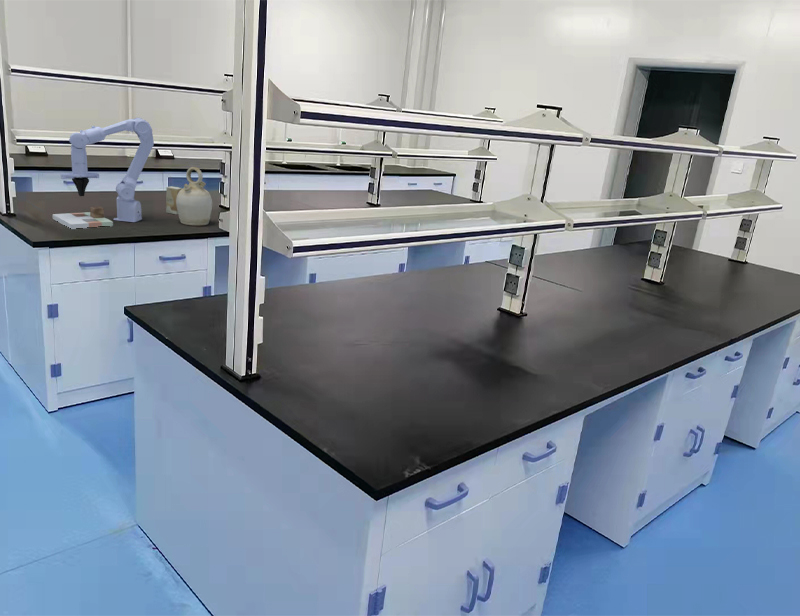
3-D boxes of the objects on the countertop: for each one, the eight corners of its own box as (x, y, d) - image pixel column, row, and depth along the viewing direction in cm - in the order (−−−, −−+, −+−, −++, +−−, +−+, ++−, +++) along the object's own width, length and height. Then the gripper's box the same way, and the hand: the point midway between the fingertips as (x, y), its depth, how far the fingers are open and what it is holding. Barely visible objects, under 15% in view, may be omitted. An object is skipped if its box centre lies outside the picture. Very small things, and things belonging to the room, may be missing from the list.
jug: (197, 217, 294) (197, 163, 286) (219, 224, 286) (219, 168, 278) (169, 221, 282) (168, 164, 274) (191, 228, 274) (190, 170, 266)
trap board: (93, 216, 275) (93, 211, 275) (113, 226, 263) (112, 221, 262) (52, 218, 264) (52, 214, 263) (71, 229, 251) (70, 224, 250)
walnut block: (100, 215, 269) (99, 206, 268) (103, 217, 267) (103, 208, 266) (90, 216, 267) (89, 207, 265) (94, 218, 264) (93, 208, 263)
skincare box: (165, 212, 297) (165, 186, 293) (171, 211, 301) (171, 185, 297) (177, 214, 296) (177, 188, 292) (183, 213, 300) (183, 187, 296)
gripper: (64, 164, 252) (67, 198, 256) (101, 164, 262) (103, 196, 267) (57, 161, 256) (60, 195, 261) (94, 161, 267) (96, 193, 271)
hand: (81, 195), depth 264 cm, fingers closed
